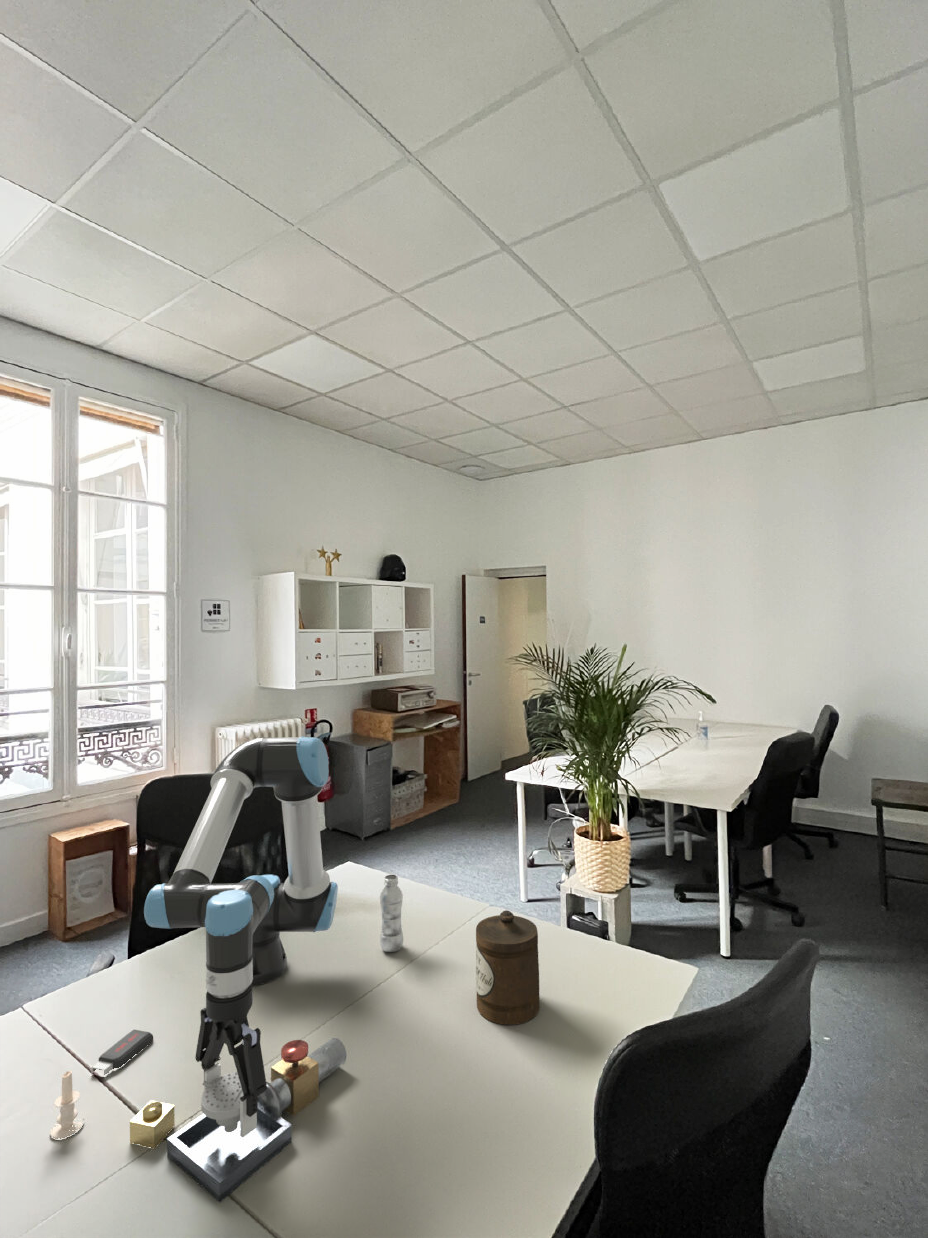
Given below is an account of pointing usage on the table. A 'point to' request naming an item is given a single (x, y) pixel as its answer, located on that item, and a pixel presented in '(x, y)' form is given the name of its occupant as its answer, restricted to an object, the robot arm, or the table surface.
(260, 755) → the robot arm
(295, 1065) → the metal assembly
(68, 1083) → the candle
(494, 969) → the wooden container
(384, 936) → the plastic bottle
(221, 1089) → the showerhead
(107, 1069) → the usb drive
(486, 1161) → the table surface
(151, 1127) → the brass block
